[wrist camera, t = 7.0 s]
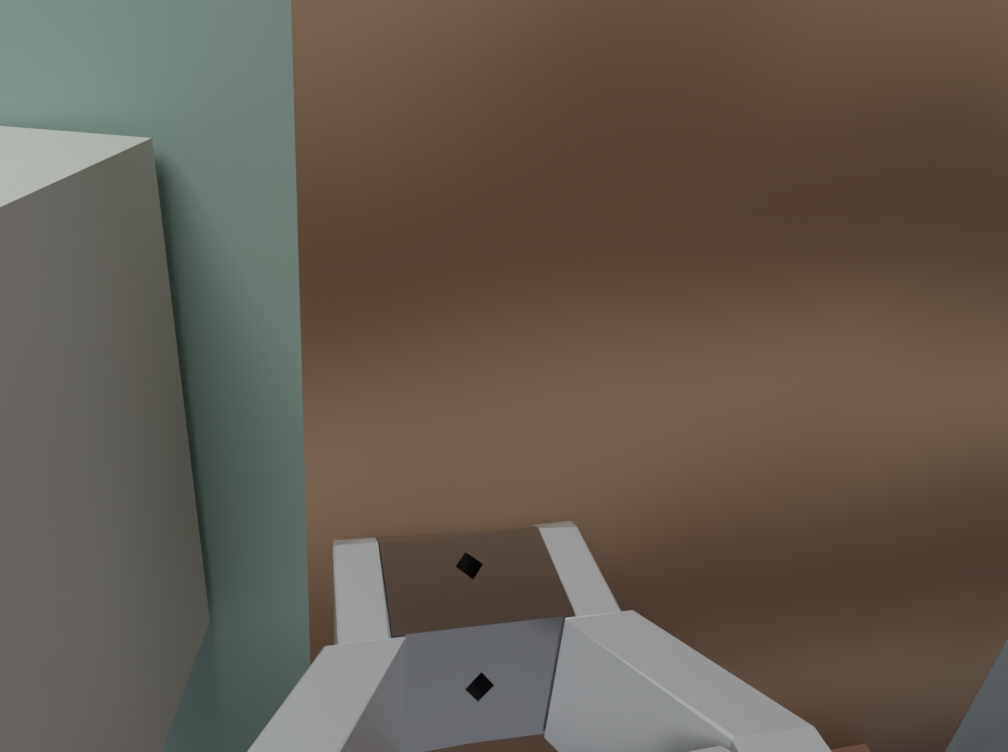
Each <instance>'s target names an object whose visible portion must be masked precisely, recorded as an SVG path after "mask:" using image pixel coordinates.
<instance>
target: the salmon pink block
mask: <svg viewBox="0 0 1008 752" xmlns="http://www.w3.org/2000/svg"><path fill="white" fill-rule="evenodd" d="M831 752H871V751H870V749H869V748H868V747H867V745H866V744H860V745H854V746H848V747H843V748H837V749H832V750H831Z"/></svg>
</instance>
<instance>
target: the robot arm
mask: <svg viewBox="0 0 1008 752" xmlns="http://www.w3.org/2000/svg"><path fill="white" fill-rule="evenodd" d="M333 588H334V645H330V646H324V647H323V649H322V650H321V652H320V653H319V654H318V656H317V657H316V658H315V660H314V661H313V662H312V664H311V665H310V667H309V668H308V669H307V671H306V672H305V673H304V675H303V676H302V677H301V679H300V680H299V682H298V683H297V684H296V686H295V687H294V688H293V690H292V691H291V692H290V694H289V695H288V697H287V698H286V699H285V701H284V702H283V703H282V705H281V706H280V708H279V709H278V710H277V712H276V713H275V714H274V716H273V717H272V718H271V720H270V721H269V723H268V724H267V725H266V727H265V728H264V729H263V731H262V732H261V733H260V735H259V736H258V738H257V739H256V740H255V742H254V743H253V744H252V746H251V747H250V748H249V750H248V751H247V752H426V751H431V750H437V749H442V748H447V747H453V746H458V745H463V744H469V743H473V742H474V743H475V742H483V741H490V740H498V739H506V738H514V737H522V736H529V735H537V734H545V735H544V738H545V739H546V740H547V741H548V742H549V743H550V744H551V745H552V746H553V747H554V748H555V749H556V750H557V751H558V752H831V750H830V749H829V747H828V746H827V744H826V743H825V742H824V740H823V739H822V737H821V736H820V734H819V733H818V731H817V730H816V729H815V727H814V726H812V725H811V724H809V723H807V722H806V721H804V720H803V719H801V718H800V717H798V716H797V715H795V714H793V713H792V712H790V711H789V710H787V709H786V708H784V707H783V706H781V705H780V704H778V703H776V702H775V701H773V700H772V699H770V698H769V697H767V696H766V695H764V694H762V693H761V692H759V691H758V690H756V689H755V688H753V687H752V686H750V685H748V684H747V683H745V682H744V681H742V680H741V679H739V678H738V677H736V676H734V675H733V674H731V673H730V672H728V671H727V670H725V669H724V668H722V667H720V666H719V665H717V664H716V663H714V662H713V661H711V660H710V659H708V658H706V657H705V656H703V655H702V654H700V653H699V652H697V651H696V650H694V649H692V648H691V647H689V646H688V645H686V644H685V643H683V642H682V641H680V640H679V639H677V638H675V637H674V636H672V635H671V634H669V633H668V632H666V631H665V630H663V629H661V628H660V627H658V626H657V625H655V624H654V623H652V622H651V621H649V620H647V619H646V618H644V617H643V616H641V615H640V614H638V613H637V612H635V611H633V610H630V611H621V609H620V607H619V605H618V603H617V601H616V600H615V598H614V596H613V594H612V592H611V590H610V588H609V586H608V584H607V582H606V581H605V579H604V577H603V575H602V573H601V571H600V569H599V567H598V565H597V563H596V562H595V560H594V558H593V556H592V554H591V552H590V550H589V548H588V546H587V544H586V543H585V541H584V539H583V537H582V535H581V533H580V531H579V529H578V527H577V525H575V524H574V523H573V522H571V521H564V522H554V523H545V524H535V525H533V526H525V527H513V528H502V529H490V530H479V531H467V532H451V533H434V534H417V535H400V536H383V537H377V540H376V539H375V538H359V539H344V540H334V543H333Z"/></svg>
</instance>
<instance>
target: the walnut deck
mask: <svg viewBox="0 0 1008 752" xmlns="http://www.w3.org/2000/svg"><path fill="white" fill-rule="evenodd" d="M291 18H292V52H293V86H294V121H295V155H296V189H297V224H298V258H299V292H300V326H301V361H302V395H303V429H304V463H305V498H306V532H307V566H308V600H309V635H310V665H311V664H312V662H313V661H314V660H315V658H316V657H317V656H318V654H319V653H320V652H321V650H322V649H323V647H324V646H330V645H334V588H333V543H334V540H344V539H359V538H375V539H376V540H377V537H383V536H400V535H417V534H434V533H451V532H467V531H479V530H490V529H502V528H513V527H525V526H533V525H535V524H545V523H554V522H564V521H571V522H573V523H574V524H575V525H577V527H578V529H579V531H580V533H581V535H582V537H583V539H584V541H585V543H586V544H587V546H588V548H589V550H590V552H591V554H592V556H593V558H594V560H595V562H596V563H597V565H598V567H599V569H600V571H601V573H602V575H603V577H604V579H605V581H606V582H607V584H608V586H609V588H610V590H611V592H612V594H613V596H614V598H615V600H616V601H617V603H618V605H619V607H620V609H621V611H630V610H633V611H635V612H637V613H638V614H640V615H641V616H643V617H644V618H646V619H647V620H649V621H651V622H652V623H654V624H655V625H657V626H658V627H660V628H661V629H663V630H665V631H666V632H668V633H669V634H671V635H672V636H674V637H675V638H677V639H679V640H680V641H682V642H683V643H685V644H686V645H688V646H689V647H691V648H692V649H694V650H696V651H697V652H699V653H700V654H702V655H703V656H705V657H706V658H708V659H710V660H711V661H713V662H714V663H716V664H717V665H719V666H720V667H722V668H724V669H725V670H727V671H728V672H730V673H731V674H733V675H734V676H736V677H738V678H739V679H741V680H742V681H744V682H745V683H747V684H748V685H750V686H752V687H753V688H755V689H756V690H758V691H759V692H761V693H762V694H764V695H766V696H767V697H769V698H770V699H772V700H773V701H775V702H776V703H778V704H780V705H781V706H783V707H784V708H786V709H787V710H789V711H790V712H792V713H793V714H795V715H797V716H798V717H800V718H801V719H803V720H804V721H806V722H807V723H809V724H811V725H812V726H814V727H815V729H816V730H817V731H818V733H819V734H820V736H821V737H822V739H823V740H824V742H825V743H826V744H827V746H828V747H829V749H830V750H832V749H837V748H843V747H848V746H854V745H860V744H866V745H867V747H868V748H869V749H870V751H871V752H945V750H946V748H947V747H948V745H949V743H950V741H951V739H952V738H953V736H954V734H955V732H956V730H957V729H958V727H959V725H960V723H961V721H962V720H963V718H964V716H965V714H966V712H967V711H968V709H969V707H970V705H971V703H972V702H973V700H974V698H975V696H976V694H977V693H978V691H979V689H980V687H981V685H982V684H983V682H984V680H985V678H986V676H987V675H988V673H989V671H990V669H991V667H992V666H993V664H994V662H995V660H996V659H997V657H998V655H999V653H1000V651H1001V650H1002V648H1003V646H1004V644H1005V642H1006V641H1007V639H1008V0H291ZM544 735H545V734H537V735H529V736H522V737H514V738H506V739H498V740H490V741H483V742H475V743H474V742H473V743H469V744H463V745H458V746H453V747H447V748H442V749H437V750H431V751H426V752H558V751H557V750H556V749H555V748H554V747H553V746H552V745H551V744H550V743H549V742H548V741H547V740H546V739H545V738H544Z"/></svg>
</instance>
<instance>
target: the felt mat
mask: <svg viewBox="0 0 1008 752" xmlns="http://www.w3.org/2000/svg"><path fill="white" fill-rule="evenodd" d="M0 126H8V127H21V128H34V129H46V130H59V131H71V132H84V133H96V134H109V135H122V136H134V137H147V138H152V142H153V150H154V158H155V167H156V175H157V183H158V192H159V200H160V208H161V217H162V225H163V234H164V242H165V250H166V259H167V267H168V275H169V284H170V292H171V300H172V309H173V317H174V326H175V334H176V342H177V351H178V359H179V367H180V376H181V384H182V392H183V401H184V409H185V417H186V426H187V434H188V443H189V451H190V459H191V468H192V476H193V484H194V493H195V501H196V509H197V518H198V526H199V534H200V543H201V551H202V560H203V568H204V576H205V585H206V593H207V601H208V610H209V618H210V623H209V625H208V628H207V631H206V633H205V636H204V639H203V641H202V644H201V647H200V649H199V652H198V655H197V658H196V660H195V663H194V666H193V668H192V671H191V674H190V676H189V679H188V682H187V685H186V687H185V690H184V693H183V695H182V698H181V701H180V703H179V706H178V709H177V711H176V714H175V717H174V720H173V722H172V725H171V728H170V730H169V733H168V736H167V738H166V741H165V744H164V746H163V749H162V752H247V751H248V750H249V748H250V747H251V746H252V744H253V743H254V742H255V740H256V739H257V738H258V736H259V735H260V733H261V732H262V731H263V729H264V728H265V727H266V725H267V724H268V723H269V721H270V720H271V718H272V717H273V716H274V714H275V713H276V712H277V710H278V709H279V708H280V706H281V705H282V703H283V702H284V701H285V699H286V698H287V697H288V695H289V694H290V692H291V691H292V690H293V688H294V687H295V686H296V684H297V683H298V682H299V680H300V679H301V677H302V676H303V675H304V673H305V672H306V671H307V669H308V668H309V667H310V635H309V600H308V566H307V532H306V498H305V463H304V429H303V395H302V361H301V326H300V292H299V258H298V224H297V189H296V155H295V121H294V86H293V52H292V18H291V0H0Z"/></svg>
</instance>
